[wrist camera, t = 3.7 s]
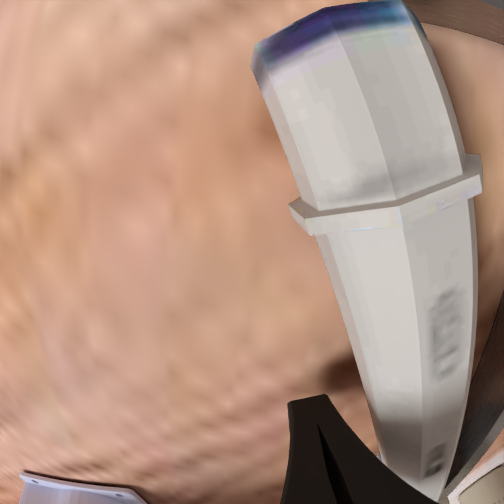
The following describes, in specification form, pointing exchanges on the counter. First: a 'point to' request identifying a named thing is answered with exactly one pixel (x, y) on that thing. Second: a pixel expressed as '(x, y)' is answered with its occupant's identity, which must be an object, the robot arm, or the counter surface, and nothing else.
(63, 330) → the counter surface
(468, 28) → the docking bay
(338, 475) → the robot arm
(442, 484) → the white handheld device
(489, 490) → the travel mug
